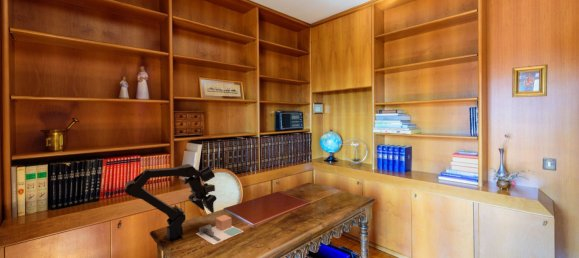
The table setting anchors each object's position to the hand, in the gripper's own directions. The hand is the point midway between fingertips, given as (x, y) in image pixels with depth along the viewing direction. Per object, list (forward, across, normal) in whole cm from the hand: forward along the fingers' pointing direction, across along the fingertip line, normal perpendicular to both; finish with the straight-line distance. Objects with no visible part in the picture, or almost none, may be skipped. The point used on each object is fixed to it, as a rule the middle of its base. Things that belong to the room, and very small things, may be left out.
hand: (208, 211), depth 139 cm
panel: (+10, -9, +4) cm, 14 cm away
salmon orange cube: (+11, -5, -2) cm, 12 cm away
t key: (+7, -7, +7) cm, 12 cm away
